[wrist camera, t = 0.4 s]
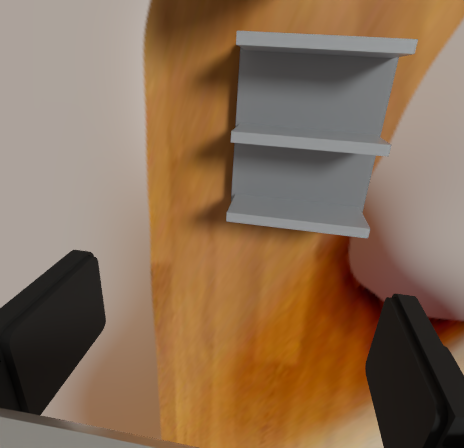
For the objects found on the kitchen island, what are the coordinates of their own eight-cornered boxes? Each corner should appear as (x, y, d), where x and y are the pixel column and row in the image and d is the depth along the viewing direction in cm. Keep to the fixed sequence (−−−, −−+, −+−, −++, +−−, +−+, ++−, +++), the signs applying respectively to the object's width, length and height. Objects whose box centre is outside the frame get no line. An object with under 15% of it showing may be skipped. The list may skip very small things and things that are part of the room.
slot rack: (242, 39, 34) (230, 30, 27) (396, 47, 32) (424, 39, 25) (233, 197, 41) (221, 220, 34) (359, 211, 39) (373, 238, 32)
